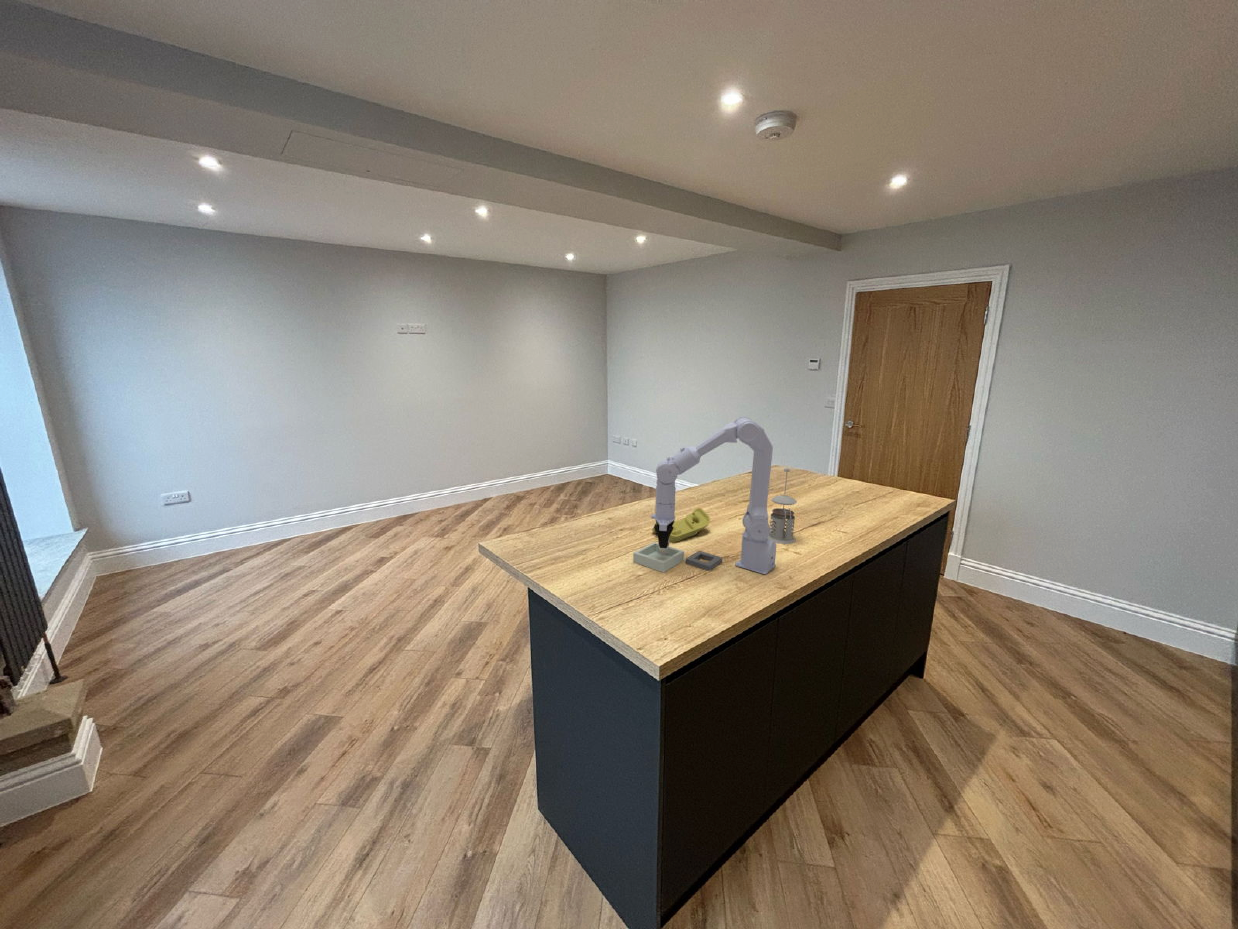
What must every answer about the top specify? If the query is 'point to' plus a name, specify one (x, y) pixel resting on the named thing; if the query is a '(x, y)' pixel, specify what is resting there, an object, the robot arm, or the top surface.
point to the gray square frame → (696, 562)
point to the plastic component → (689, 525)
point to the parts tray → (658, 557)
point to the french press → (782, 519)
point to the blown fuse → (663, 550)
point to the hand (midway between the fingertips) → (663, 545)
